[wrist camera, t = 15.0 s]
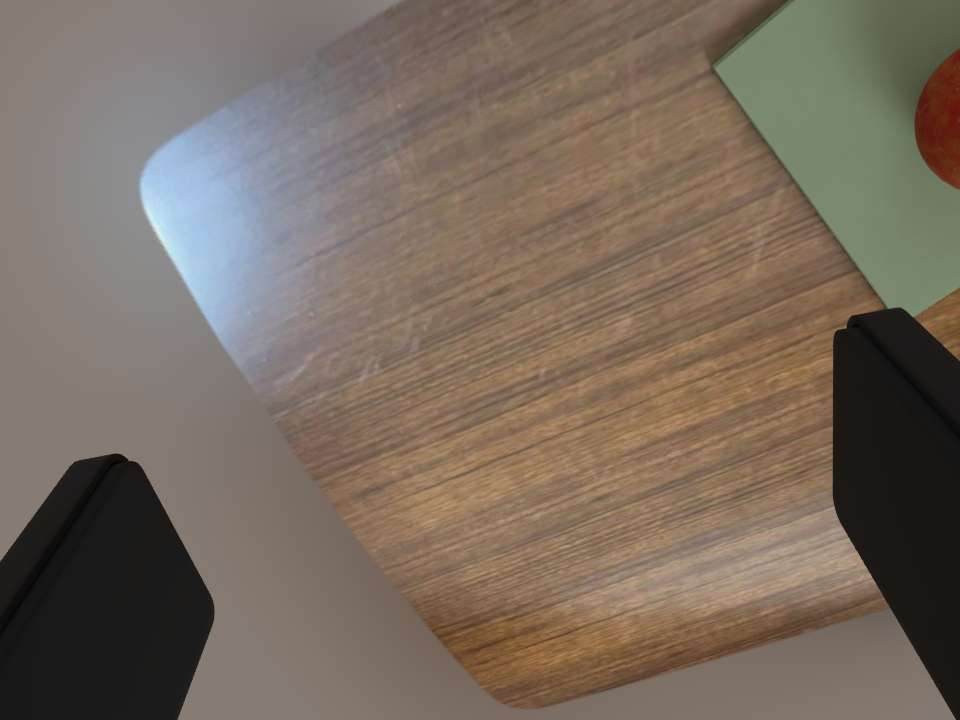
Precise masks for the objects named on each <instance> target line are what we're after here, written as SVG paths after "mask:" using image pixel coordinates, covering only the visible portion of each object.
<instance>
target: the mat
mask: <svg viewBox="0 0 960 720" xmlns="http://www.w3.org/2000/svg"><path fill="white" fill-rule="evenodd" d="M959 48H960V0H788V1H787V2H786V3H785V4H784V5H782V6H781V7H780V8H779V9H778V10H777V11H775V12H774V13H773V14H772V15H771V16H769V17H768V18H767V19H766V20H765V21H764V22H762V23H761V24H760V25H759V26H758V27H757V28H755V29H754V30H753V31H752V32H751V33H749V34H748V35H747V36H746V37H745V38H744V39H742V40H741V41H740V42H739V43H738V44H736V45H735V46H734V47H733V48H732V49H731V50H729V51H728V52H727V53H726V54H725V55H723V56H722V57H721V58H720V59H719V60H718V61H716V62H715V63H714V64H713V65H712V66H711V67H712V69H713V70H714V72H715V73H716V74H717V76H718V77H719V78H720V80H721V81H722V83H723V84H724V85H725V87H726V88H727V89H728V91H729V92H730V94H731V95H732V96H733V98H734V99H735V100H736V102H737V103H738V105H739V106H740V107H741V109H742V110H743V111H744V113H745V114H746V116H747V117H748V118H749V120H750V121H751V122H752V124H753V125H754V126H755V128H756V129H757V131H758V132H759V133H760V135H761V136H762V137H763V139H764V140H765V142H766V143H767V144H768V146H769V147H770V148H771V150H772V151H773V153H774V154H775V155H776V157H777V158H778V159H779V161H780V162H781V164H782V165H783V166H784V168H785V169H786V170H787V172H788V173H789V175H790V176H791V177H792V179H793V180H794V181H795V183H796V184H797V186H798V187H799V188H800V190H801V191H802V192H803V194H804V195H805V197H806V198H807V199H808V201H809V202H810V203H811V205H812V206H813V208H814V209H815V210H816V212H817V213H818V214H819V216H820V217H821V219H822V220H823V221H824V223H825V224H826V225H827V227H828V228H829V230H830V231H831V232H832V234H833V235H834V236H835V238H836V239H837V241H838V242H839V243H840V245H841V246H842V247H843V249H844V250H845V252H846V253H847V254H848V256H849V257H850V258H851V260H852V261H853V262H854V264H855V265H856V267H857V268H858V269H859V271H860V272H861V273H862V275H863V276H864V278H865V279H866V280H867V282H868V283H869V284H870V286H871V287H872V289H873V290H874V291H875V293H876V294H877V295H878V297H879V298H880V300H881V301H882V302H883V304H884V305H885V306H886V308H887V309H891V308H896V307H901V308H903V309H904V310H906V311H907V312H908V313H909V314H910V315H911V316H912V317H915V316H916V315H918V314H919V313H921V312H922V311H924V310H925V309H927V308H928V307H930V306H931V305H933V304H935V303H936V302H938V301H939V300H941V299H942V298H944V297H945V296H947V295H948V294H950V293H951V292H953V291H954V290H956V289H957V288H959V287H960V190H959V189H956V188H954V187H952V186H950V185H949V184H947V183H946V182H944V181H943V180H941V179H940V178H939V177H938V176H937V175H936V174H935V173H934V172H933V171H932V170H930V168H929V167H928V166H927V164H926V163H925V161H924V160H923V158H922V156H921V154H920V152H919V149H918V147H917V143H916V138H915V126H914V120H915V113H916V108H917V104H918V101H919V97H920V95H921V93H922V90H923V88H924V86H925V84H926V83H927V81H928V79H929V78H930V76H931V75H932V74H933V72H934V71H935V70H936V69H937V67H938V66H939V65H940V64H941V63H942V62H943V61H944V60H945V59H946V58H947V57H949V56H950V55H951V54H952V53H954V52H955V51H956V50H958V49H959Z"/></svg>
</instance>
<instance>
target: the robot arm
mask: <svg viewBox="0 0 960 720" xmlns="http://www.w3.org/2000/svg"><path fill="white" fill-rule="evenodd" d="M833 501H834V506H835V510H836V513H837V516H838V518H839V521H840V523H841V525H842V526H843V528H844V530H845V531H846V533H847V535H848V537H849V538H850V540H851V542H852V543H853V545H854V547H855V548H856V550H857V552H858V554H859V555H860V557H861V559H862V560H863V562H864V564H865V565H866V567H867V569H868V571H869V572H870V574H871V576H872V577H873V579H874V581H875V582H876V584H877V586H878V588H879V589H880V591H881V593H882V594H883V596H884V598H885V599H886V601H887V603H888V605H889V606H890V608H891V610H892V611H893V613H894V615H895V616H896V618H897V620H898V622H899V623H900V625H901V627H902V628H903V630H904V632H905V633H906V635H907V637H908V639H909V640H910V642H911V644H912V645H913V647H914V649H915V651H916V652H917V654H918V656H919V657H920V659H921V661H922V662H923V664H924V666H925V668H926V669H927V671H928V673H929V674H930V676H931V678H932V679H933V681H934V683H935V685H936V686H937V688H938V690H939V691H940V693H941V694H942V697H943V698H944V700H945V702H946V703H947V705H948V707H949V708H950V710H951V712H952V714H953V715H954V717H955V719H956V720H960V361H959V360H958V359H957V358H956V357H955V356H953V355H952V354H951V353H950V352H949V351H948V350H947V349H946V348H945V347H944V346H943V345H942V344H941V343H940V342H939V341H938V340H937V339H935V338H934V337H933V336H932V335H931V334H930V333H929V332H928V331H927V330H926V329H925V328H924V327H923V326H922V325H921V324H920V323H919V322H917V321H916V320H915V319H914V318H913V317H912V316H911V315H910V314H909V313H908V312H907V311H906V310H904V309H903V308H901V307H896V308H891V309H886V310H880V311H875V312H870V313H864V314H859V315H853V316H851V317H850V318H849V321H848V323H847V328H846V329H841V330H837V331H836V332H835V335H834V341H833ZM213 621H214V604H213V600H212V597H211V595H210V593H209V591H208V589H207V587H206V586H205V584H204V582H203V580H202V578H201V576H200V574H199V573H198V571H197V569H196V567H195V565H194V563H193V561H192V560H191V558H190V556H189V554H188V552H187V550H186V548H185V547H184V545H183V543H182V541H181V539H180V537H179V535H178V534H177V532H176V530H175V528H174V526H173V525H172V523H171V521H170V519H169V517H168V515H167V513H166V511H165V509H164V508H163V506H162V504H161V502H160V500H159V499H158V497H157V495H156V493H155V491H154V489H153V487H152V485H151V484H150V482H149V480H148V478H147V476H146V474H145V472H144V471H143V469H142V468H141V466H140V465H139V464H138V463H136V462H134V461H128V459H127V458H126V457H124V456H123V455H121V454H110V455H105V456H100V457H95V458H89V459H84V460H79V461H76V462H74V463H73V464H72V465H71V466H70V467H69V469H68V470H67V471H66V472H65V474H64V475H63V477H62V478H61V479H60V481H59V482H58V483H57V485H56V486H55V488H54V489H53V490H52V492H51V493H50V494H49V496H48V497H47V499H46V500H45V501H44V503H43V504H42V505H41V507H40V508H39V509H38V511H37V512H36V514H35V515H34V516H33V518H32V519H31V521H30V522H29V523H28V524H27V526H26V527H25V529H24V530H23V531H22V533H21V534H20V535H19V537H18V538H17V539H16V541H15V542H14V544H13V545H12V546H11V548H10V549H9V550H8V552H7V553H6V555H5V556H4V557H3V559H2V560H1V561H0V720H177V719H178V717H179V714H180V711H181V709H182V706H183V703H184V701H185V698H186V695H187V693H188V690H189V687H190V684H191V682H192V679H193V676H194V674H195V671H196V668H197V666H198V663H199V660H200V657H201V655H202V652H203V649H204V647H205V644H206V641H207V639H208V636H209V633H210V631H211V628H212V624H213Z"/></svg>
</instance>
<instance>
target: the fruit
mask: <svg viewBox="0 0 960 720" xmlns="http://www.w3.org/2000/svg"><path fill="white" fill-rule="evenodd" d="M914 126H915V138H916V143H917V147H918V149H919V152H920V154H921V156H922V158H923V160H924V161H925V163H926V164H927V166H928V167H929V168H930V170H932V171H933V172H934V173H935V174H936V175H937V176H938V177H939V178H940V179H941V180H943V181H944V182H946V183H947V184H949V185H950V186H952V187H954V188H956V189H959V190H960V48H959V49H958V50H956V51H955V52H954V53H952V54H951V55H950V56H949V57H947V58H946V59H945V60H944V61H943V62H942V63H941V64H940V65H939V66H938V67H937V69H936V70H935V71H934V72H933V74H932V75H931V76H930V78H929V79H928V81H927V83H926V84H925V86H924V88H923V90H922V93H921V95H920V97H919V101H918V104H917V108H916V113H915V120H914Z"/></svg>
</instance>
